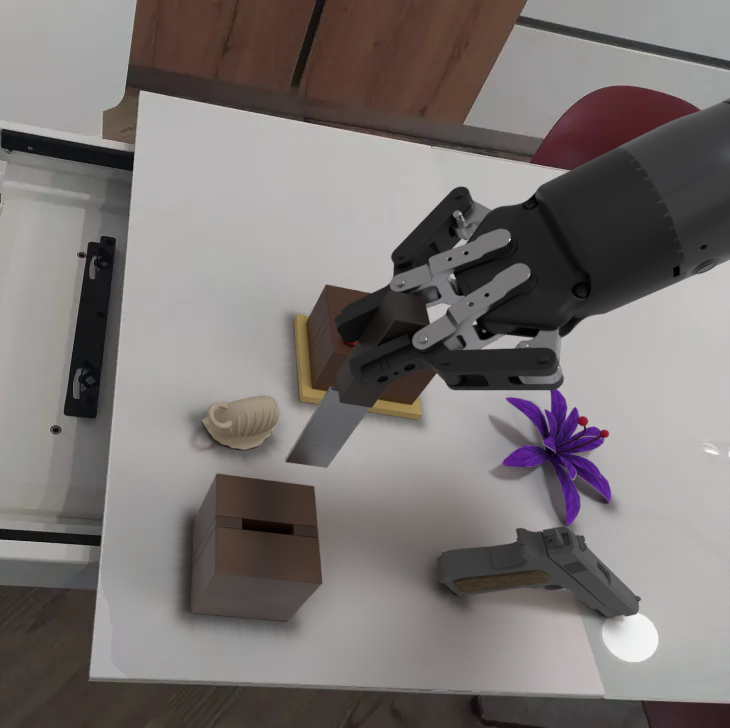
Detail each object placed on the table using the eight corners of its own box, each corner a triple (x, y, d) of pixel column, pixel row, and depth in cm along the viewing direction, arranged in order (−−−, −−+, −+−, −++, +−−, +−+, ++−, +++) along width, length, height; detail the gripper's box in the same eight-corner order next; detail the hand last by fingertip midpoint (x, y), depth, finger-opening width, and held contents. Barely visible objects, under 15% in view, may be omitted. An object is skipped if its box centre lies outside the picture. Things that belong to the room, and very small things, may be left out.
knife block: (283, 530, 64) (314, 485, 58) (287, 621, 59) (323, 583, 53) (193, 519, 62) (216, 472, 56) (190, 613, 57) (215, 572, 51)
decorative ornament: (281, 443, 70) (299, 411, 66) (199, 457, 66) (213, 425, 62) (266, 408, 72) (283, 375, 68) (185, 420, 68) (199, 386, 64)
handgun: (427, 549, 64) (564, 508, 58) (517, 613, 74) (642, 584, 68) (431, 580, 62) (573, 542, 56) (523, 641, 72) (651, 614, 66)
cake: (402, 339, 83) (439, 286, 77) (418, 420, 77) (459, 369, 70) (293, 319, 81) (321, 262, 74) (299, 401, 74) (331, 346, 67)
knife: (325, 453, 54) (433, 298, 41) (328, 479, 53) (439, 327, 40) (284, 447, 53) (380, 287, 41) (285, 474, 52) (385, 317, 39)
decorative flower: (525, 365, 82) (576, 336, 76) (621, 467, 81) (680, 446, 75) (469, 440, 74) (521, 414, 68) (575, 554, 73) (637, 538, 67)
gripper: (583, 78, 39) (292, 232, 44) (732, 272, 31) (355, 432, 36) (599, 169, 44) (340, 296, 50) (728, 353, 36) (403, 481, 42)
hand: (348, 352), depth 43 cm, fingers closed on knife, 2 cm apart
